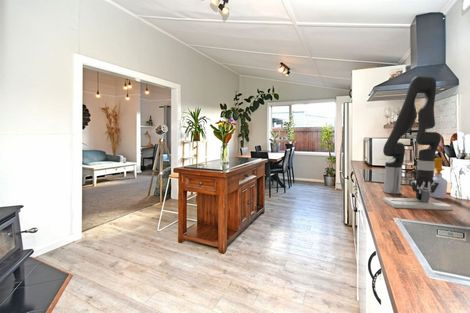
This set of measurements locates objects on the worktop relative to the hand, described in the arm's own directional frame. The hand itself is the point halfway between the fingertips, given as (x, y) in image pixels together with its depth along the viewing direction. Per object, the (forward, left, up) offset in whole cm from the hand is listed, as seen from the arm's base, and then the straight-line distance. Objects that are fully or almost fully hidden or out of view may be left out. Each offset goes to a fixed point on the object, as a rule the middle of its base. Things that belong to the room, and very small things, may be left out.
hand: (422, 199), depth 136 cm
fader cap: (0, 0, -1) cm, 1 cm away
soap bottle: (-21, +21, -3) cm, 29 cm away
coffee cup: (-15, +9, -3) cm, 17 cm away
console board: (0, -4, -3) cm, 5 cm away
